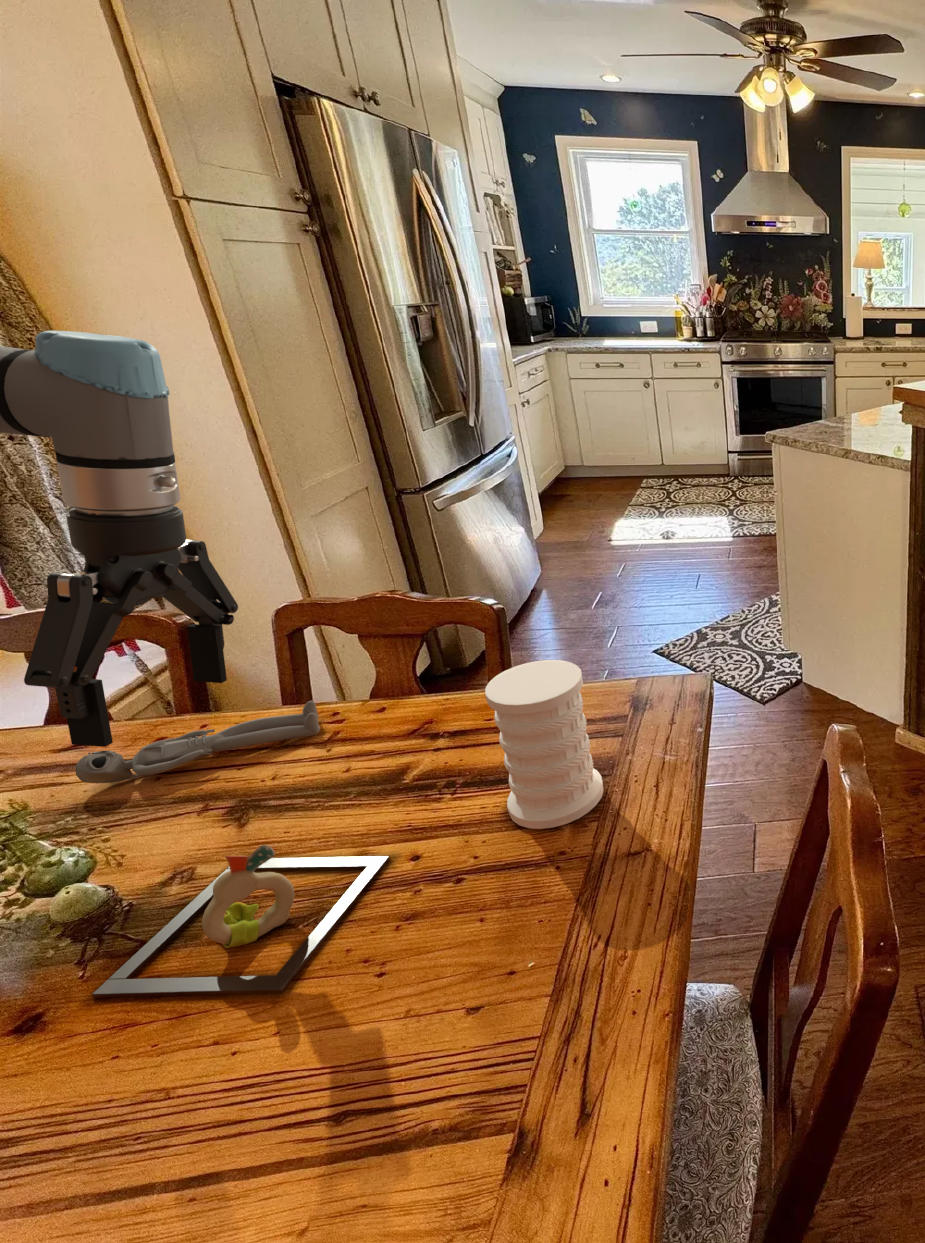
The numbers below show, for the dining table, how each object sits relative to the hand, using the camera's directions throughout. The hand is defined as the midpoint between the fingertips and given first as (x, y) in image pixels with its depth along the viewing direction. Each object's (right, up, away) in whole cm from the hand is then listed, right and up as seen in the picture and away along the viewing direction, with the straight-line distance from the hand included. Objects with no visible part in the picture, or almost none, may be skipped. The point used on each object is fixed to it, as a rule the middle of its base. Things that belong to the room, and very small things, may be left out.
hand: (157, 709), depth 72 cm
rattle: (+8, -23, +3) cm, 25 cm away
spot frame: (+8, -23, +3) cm, 25 cm away
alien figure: (-22, -12, +28) cm, 38 cm away
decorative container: (+31, -16, +22) cm, 41 cm away
